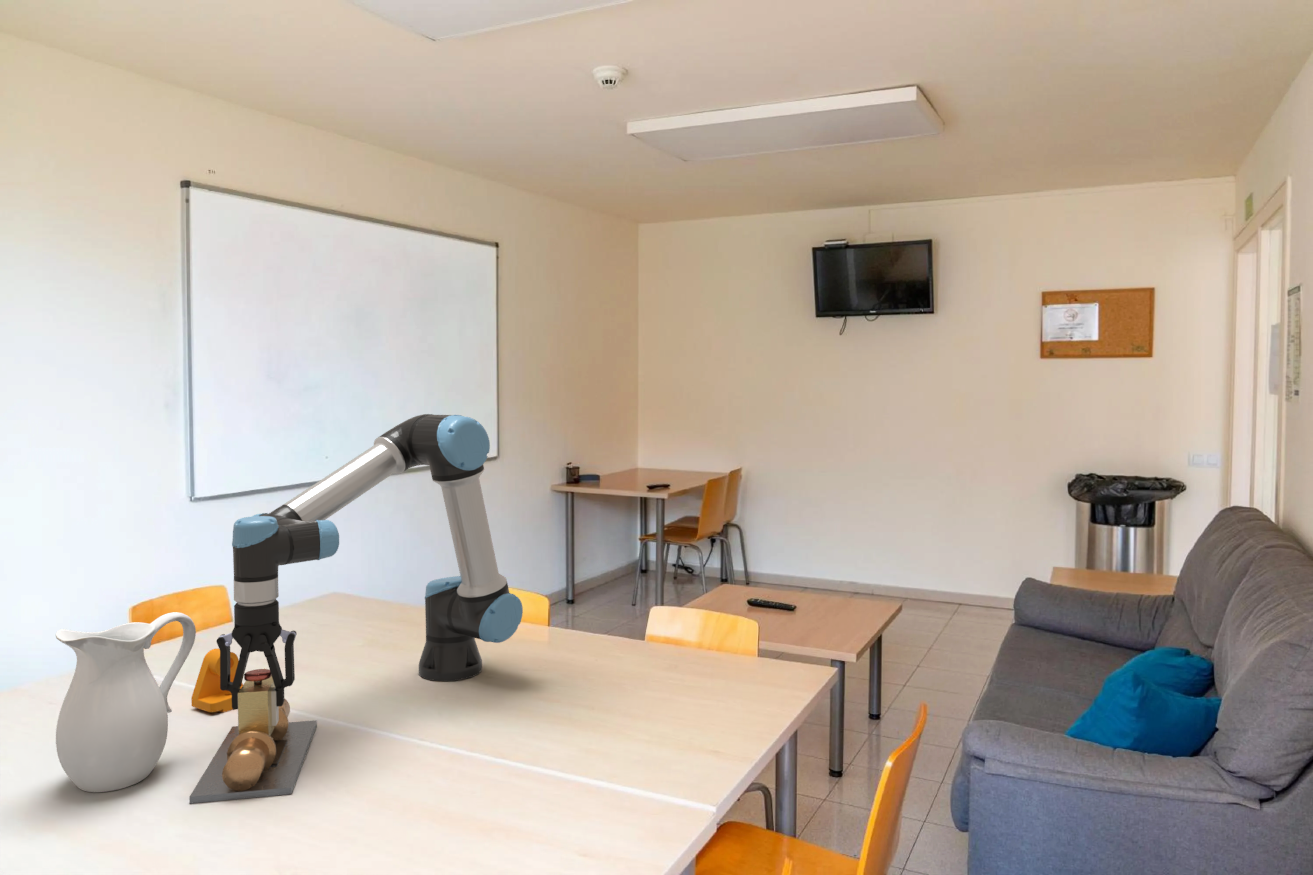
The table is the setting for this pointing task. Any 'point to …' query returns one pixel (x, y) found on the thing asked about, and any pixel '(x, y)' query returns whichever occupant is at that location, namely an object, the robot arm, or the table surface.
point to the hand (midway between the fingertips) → (258, 723)
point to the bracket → (213, 684)
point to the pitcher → (116, 705)
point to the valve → (256, 702)
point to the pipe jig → (256, 762)
